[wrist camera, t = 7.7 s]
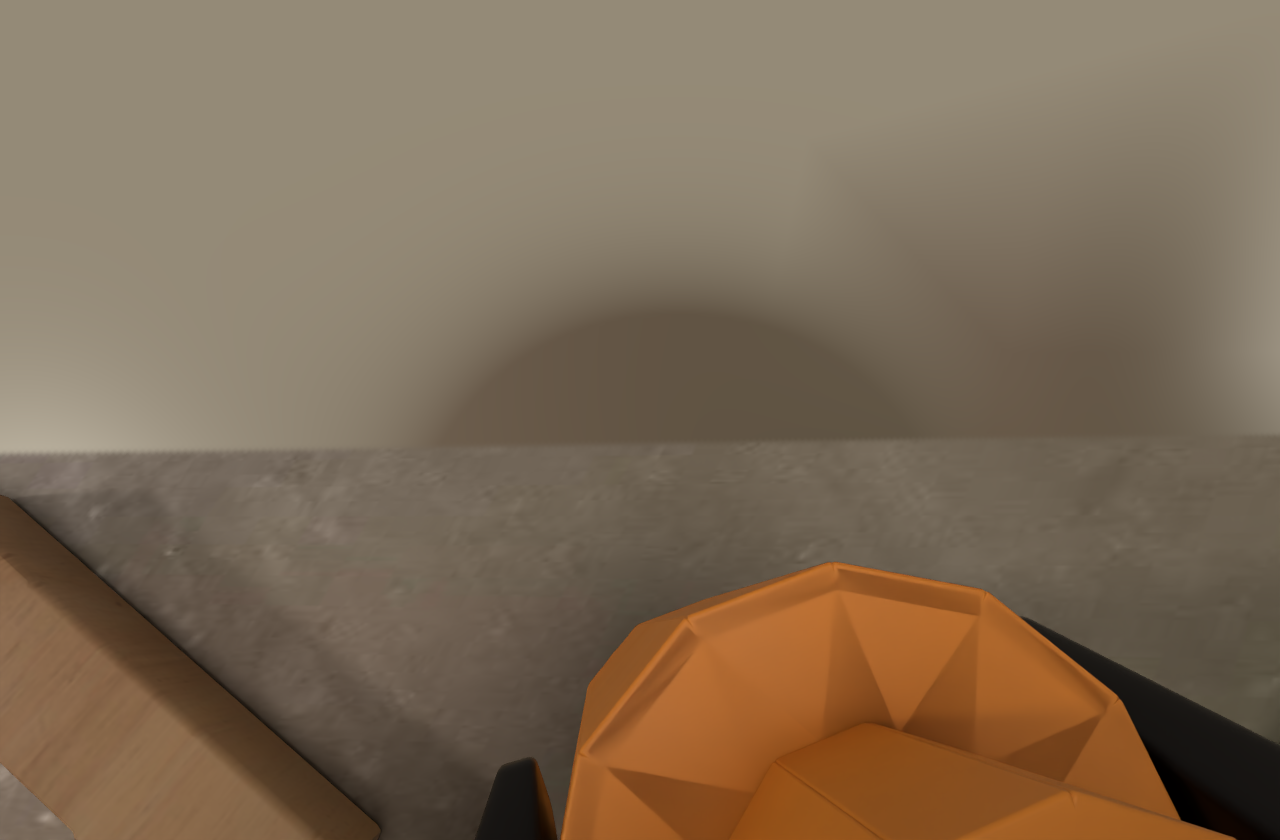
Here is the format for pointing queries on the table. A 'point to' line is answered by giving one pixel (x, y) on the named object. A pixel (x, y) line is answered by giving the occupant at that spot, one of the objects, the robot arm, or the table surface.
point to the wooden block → (136, 718)
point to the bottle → (857, 724)
